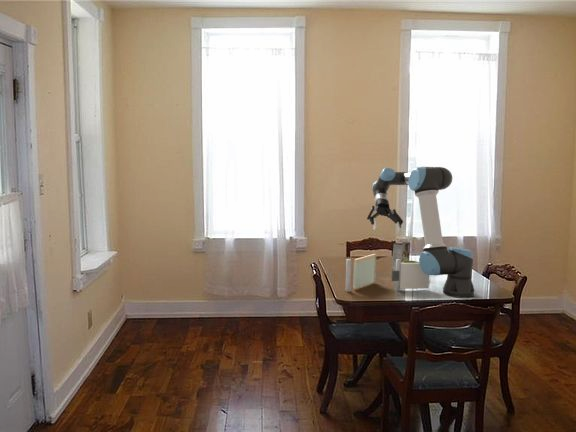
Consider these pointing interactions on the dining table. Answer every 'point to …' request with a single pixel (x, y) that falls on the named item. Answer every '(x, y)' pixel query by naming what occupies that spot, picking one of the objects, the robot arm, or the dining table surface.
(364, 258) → the gate
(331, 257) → the dining table surface
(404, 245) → the coffee box
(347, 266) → the fence
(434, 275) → the robot arm
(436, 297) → the dining table surface
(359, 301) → the dining table surface
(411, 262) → the plant pot
